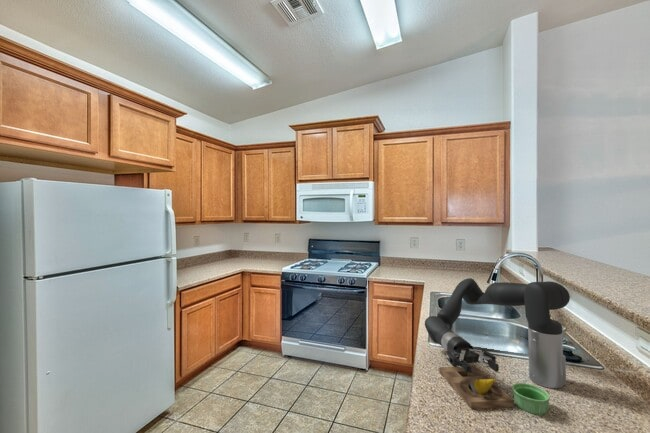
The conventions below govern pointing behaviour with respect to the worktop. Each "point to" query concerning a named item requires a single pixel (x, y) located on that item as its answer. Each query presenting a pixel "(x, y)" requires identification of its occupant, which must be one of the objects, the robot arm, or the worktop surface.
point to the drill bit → (481, 385)
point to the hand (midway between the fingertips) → (483, 369)
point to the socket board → (461, 385)
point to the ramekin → (531, 398)
